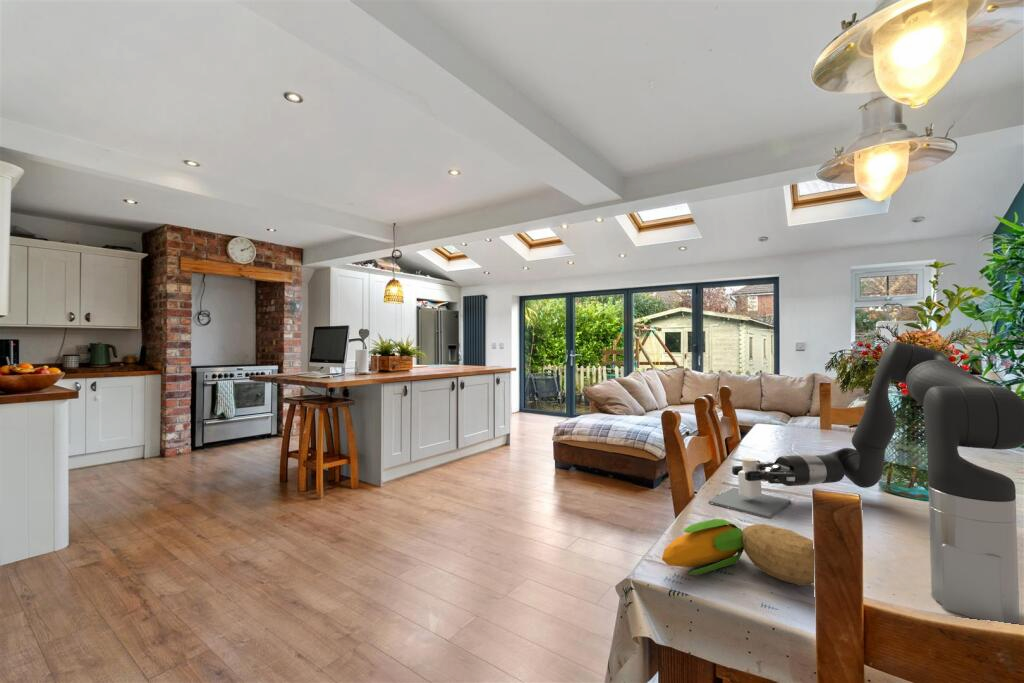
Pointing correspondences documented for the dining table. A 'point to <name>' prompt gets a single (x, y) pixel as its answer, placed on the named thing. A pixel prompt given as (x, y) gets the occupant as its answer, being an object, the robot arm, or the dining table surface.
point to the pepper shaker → (748, 487)
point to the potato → (780, 553)
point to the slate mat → (751, 503)
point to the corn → (706, 546)
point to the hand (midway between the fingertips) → (739, 473)
